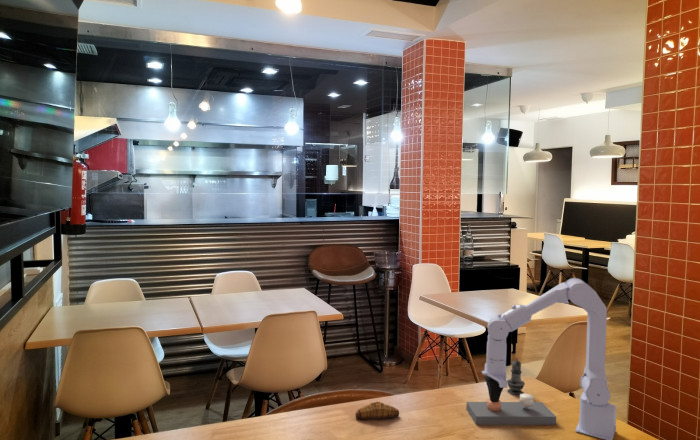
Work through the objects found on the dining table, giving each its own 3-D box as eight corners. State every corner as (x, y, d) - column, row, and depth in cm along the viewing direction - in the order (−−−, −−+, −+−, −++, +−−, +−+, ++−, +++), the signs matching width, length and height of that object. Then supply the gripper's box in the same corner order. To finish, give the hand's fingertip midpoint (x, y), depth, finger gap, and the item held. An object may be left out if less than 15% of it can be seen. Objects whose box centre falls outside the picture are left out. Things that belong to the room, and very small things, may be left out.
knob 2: (529, 408, 151) (530, 393, 151) (535, 414, 147) (536, 399, 147) (517, 408, 151) (517, 393, 150) (522, 414, 147) (523, 399, 146)
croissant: (357, 424, 142) (357, 407, 142) (353, 413, 149) (353, 397, 148) (402, 421, 144) (402, 405, 144) (396, 411, 151) (396, 395, 150)
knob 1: (497, 413, 151) (498, 398, 150) (502, 419, 147) (503, 404, 146) (485, 413, 150) (485, 398, 150) (489, 419, 146) (489, 404, 146)
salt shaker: (521, 389, 170) (523, 355, 169) (526, 396, 164) (527, 361, 163) (504, 388, 171) (506, 354, 170) (508, 395, 165) (510, 360, 164)
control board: (541, 409, 154) (541, 402, 154) (555, 424, 144) (556, 416, 144) (466, 409, 153) (466, 401, 153) (475, 424, 143) (476, 416, 143)
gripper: (475, 349, 154) (474, 391, 155) (491, 366, 140) (489, 412, 141) (497, 350, 155) (495, 391, 156) (515, 366, 140) (513, 412, 141)
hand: (494, 401), depth 148 cm, fingers closed, pressing on knob 1
